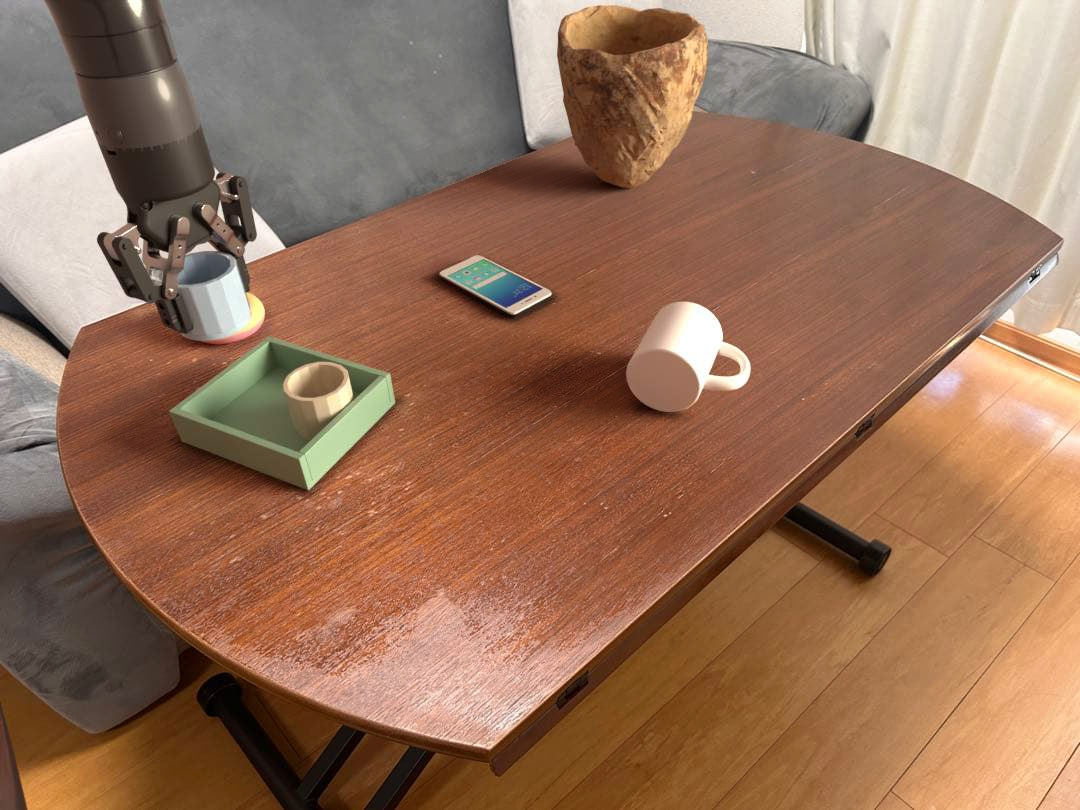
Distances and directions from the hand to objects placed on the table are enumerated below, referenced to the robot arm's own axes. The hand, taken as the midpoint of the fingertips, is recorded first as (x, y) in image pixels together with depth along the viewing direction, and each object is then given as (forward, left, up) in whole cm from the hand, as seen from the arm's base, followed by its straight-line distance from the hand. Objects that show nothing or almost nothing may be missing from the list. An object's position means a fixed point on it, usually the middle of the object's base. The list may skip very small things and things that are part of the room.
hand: (211, 309), depth 69 cm
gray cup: (0, 0, -1) cm, 1 cm away
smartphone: (+36, -8, -15) cm, 40 cm away
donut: (+14, +18, -16) cm, 28 cm away
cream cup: (+4, -6, -15) cm, 17 cm away
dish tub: (+3, -2, -15) cm, 16 cm away
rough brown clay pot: (+75, -11, -16) cm, 78 cm away
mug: (+26, -38, -16) cm, 49 cm away
